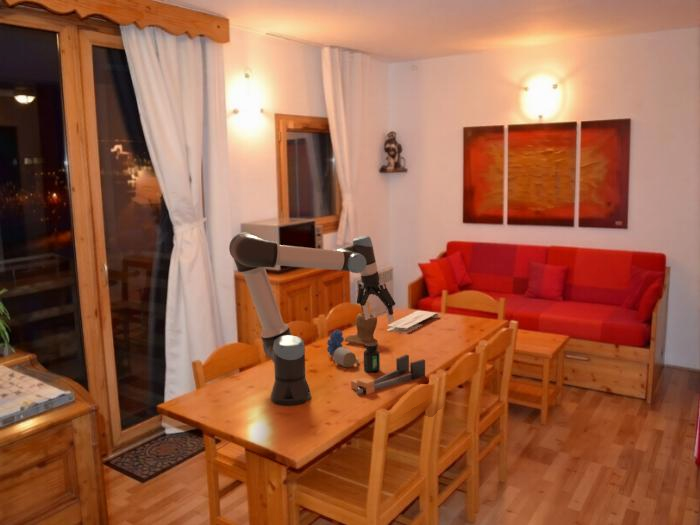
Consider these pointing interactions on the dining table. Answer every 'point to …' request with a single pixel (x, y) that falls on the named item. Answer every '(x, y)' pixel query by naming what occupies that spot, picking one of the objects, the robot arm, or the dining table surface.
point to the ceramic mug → (344, 357)
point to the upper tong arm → (401, 368)
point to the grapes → (335, 341)
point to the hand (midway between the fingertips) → (379, 320)
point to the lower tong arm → (415, 372)
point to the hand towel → (410, 321)
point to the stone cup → (364, 330)
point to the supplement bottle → (371, 358)
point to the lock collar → (363, 384)
